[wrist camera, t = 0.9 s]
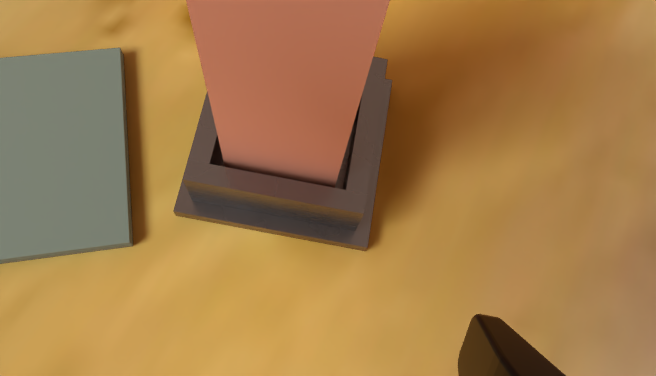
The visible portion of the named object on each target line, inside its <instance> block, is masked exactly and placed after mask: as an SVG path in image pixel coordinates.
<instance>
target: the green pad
mask: <svg viewBox="0 0 656 376" xmlns="http://www.w3.org/2000/svg"><path fill="white" fill-rule="evenodd" d="M129 246H133V235H132V215H131V195H130V175H129V155H128V135H127V116H126V96H125V76H124V56H123V53H122V51H121V49H120V48H111V49H100V50H88V51H76V52H65V53H53V54H41V55H30V56H18V57H6V58H0V264H2V263H10V262H17V261H25V260H32V259H40V258H47V257H55V256H62V255H70V254H77V253H85V252H92V251H100V250H107V249H115V248H122V247H129Z"/></svg>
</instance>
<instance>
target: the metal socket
mask: <svg viewBox="0 0 656 376" xmlns="http://www.w3.org/2000/svg"><path fill="white" fill-rule="evenodd" d="M386 67H387V59H382V58H377V57H373V59H372V62H371V66H370V69H369V73H368V76H367V79H366V83H365V86H364V90H363V93H362V96H361V100H360V103H359V107H358V110H357V113H356V117H355V120H354V123H353V127H352V130H351V134H350V137H349V140H348V144H347V147H346V151H345V154H344V157H343V161H342V164H341V168H340V171H339V174H338V178H337V181H336V185H335V188H333V187H328V186H323V185H318V184H312V183H307V182H302V181H297V180H291V179H286V178H281V177H276V176H270V175H265V174H260V173H255V172H249V171H244V170H239V169H234V168H228V167H225V165H224V161H223V156H222V152H221V148H220V144H219V139H218V135H217V131H216V126H215V122H214V118H213V113H212V109H211V105H210V100H209V96H208V92H207V94H206V98H205V101H204V105H203V108H202V112H201V116H200V119H199V123H198V126H197V130H196V133H195V137H194V140H193V144H192V147H191V151H190V155H189V158H188V162H187V165H186V169H185V172H184V176H183V179H182V183H181V186H180V190H179V194H178V197H177V201H176V204H175V208H174V213H175V215H176V216H181V217H186V218H192V219H197V220H202V221H208V222H213V223H218V224H224V225H229V226H234V227H240V228H245V229H250V230H256V231H261V232H266V233H271V234H277V235H282V236H287V237H293V238H298V239H303V240H309V241H314V242H319V243H325V244H330V245H335V246H341V247H346V248H351V249H357V250H362V251H366V249H367V248H368V241H369V234H370V227H371V220H372V214H373V207H374V200H375V193H376V187H377V180H378V173H379V166H380V159H381V153H382V146H383V139H384V132H385V126H386V119H387V112H388V105H389V98H390V92H391V85H392V80H389V79H385V73H386Z"/></svg>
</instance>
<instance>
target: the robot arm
mask: <svg viewBox="0 0 656 376" xmlns="http://www.w3.org/2000/svg"><path fill="white" fill-rule="evenodd" d="M458 374H459V376H566V375H564V374H563V373H562V372H561V371H560V370H559V369H558V368H556V367H555V366H554V365H553V364H552V363H551V362H550V361H548V360H547V359H546V358H545V357H544V356H543V355H542V354H540V353H539V352H538V351H537V350H536V349H535V348H534V347H532V346H531V345H530V344H529V343H528V342H527V341H526V340H524V339H523V338H522V337H521V336H520V335H519V334H518V333H516V332H515V331H514V330H513V329H512V328H511V327H510V326H508V325H507V324H506V323H505V322H504V321H503V320H501V319H500V318H498V317H493V316H488V315H482V314H476V315H475V316H474V317H473V318H472V320H471V322H470V325H469V327H468V330H467V333H466V336H465V339H464V342H463V345H462V347H461V350H460V354H459V359H458Z"/></svg>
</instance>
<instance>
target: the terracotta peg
mask: <svg viewBox="0 0 656 376" xmlns="http://www.w3.org/2000/svg"><path fill="white" fill-rule="evenodd" d="M186 1H187V6H188V10H189V14H190V19H191V23H192V27H193V31H194V36H195V40H196V44H197V49H198V53H199V57H200V62H201V66H202V70H203V75H204V79H205V83H206V88H207V92H208V96H209V100H210V105H211V109H212V113H213V118H214V122H215V126H216V131H217V135H218V139H219V144H220V148H221V152H222V156H223V161H224V165H225V167H228V168H234V169H239V170H244V171H249V172H255V173H260V174H265V175H270V176H276V177H281V178H286V179H291V180H297V181H302V182H307V183H312V184H318V185H323V186H328V187H333V188H335V185H336V181H337V178H338V174H339V171H340V168H341V164H342V161H343V157H344V154H345V151H346V147H347V144H348V140H349V137H350V134H351V130H352V127H353V123H354V120H355V117H356V113H357V110H358V107H359V103H360V100H361V96H362V93H363V90H364V86H365V83H366V79H367V76H368V73H369V69H370V66H371V62H372V59H373V56H374V52H375V49H376V45H377V42H378V39H379V35H380V32H381V28H382V25H383V22H384V18H385V15H386V11H387V8H388V5H389V1H390V0H186Z"/></svg>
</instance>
